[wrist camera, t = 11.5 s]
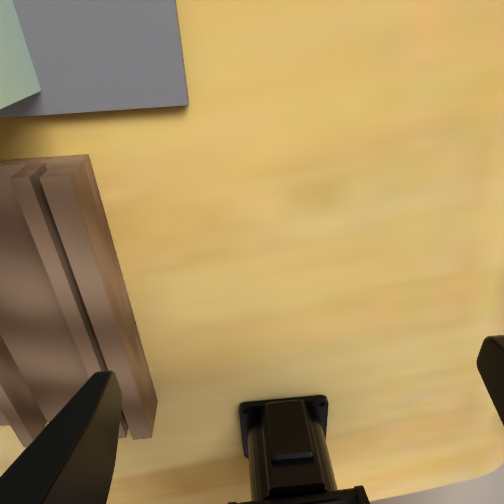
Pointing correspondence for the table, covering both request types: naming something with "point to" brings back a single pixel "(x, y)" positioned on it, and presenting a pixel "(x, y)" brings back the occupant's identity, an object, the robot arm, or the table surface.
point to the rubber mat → (101, 56)
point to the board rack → (63, 299)
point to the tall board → (14, 59)
